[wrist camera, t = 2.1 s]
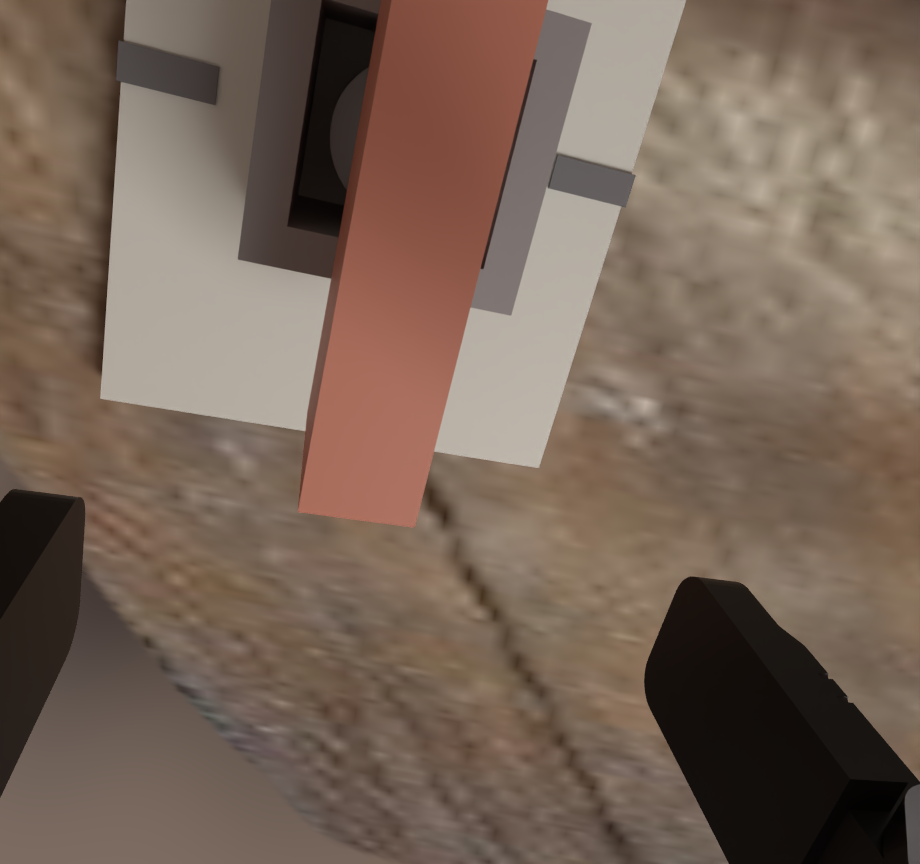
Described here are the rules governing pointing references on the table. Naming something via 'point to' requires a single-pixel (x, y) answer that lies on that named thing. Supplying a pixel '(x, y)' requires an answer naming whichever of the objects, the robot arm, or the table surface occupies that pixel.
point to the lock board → (326, 178)
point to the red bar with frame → (405, 217)
